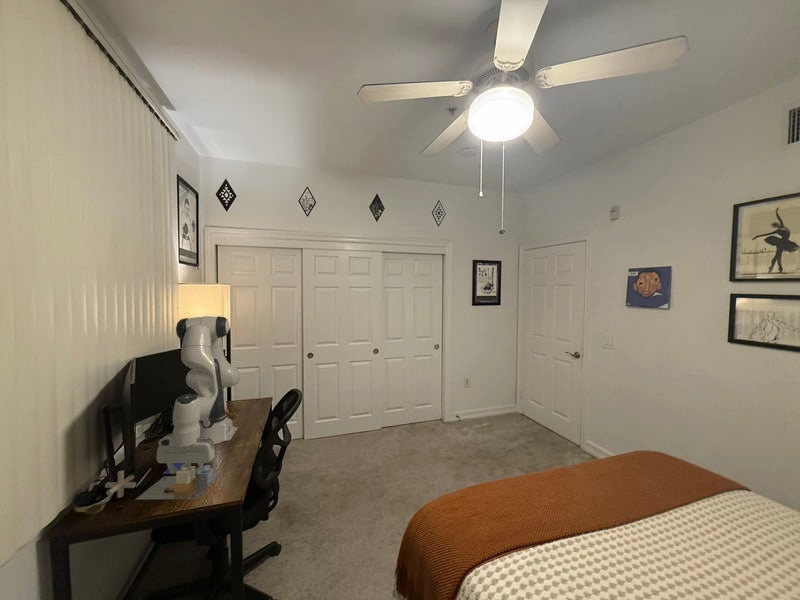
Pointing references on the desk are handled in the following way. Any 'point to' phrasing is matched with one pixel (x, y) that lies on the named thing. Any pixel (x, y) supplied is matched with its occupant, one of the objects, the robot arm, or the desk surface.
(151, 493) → the plate
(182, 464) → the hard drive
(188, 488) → the pigtail stub
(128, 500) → the desk surface
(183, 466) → the cream knobbed block
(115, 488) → the pipe connector
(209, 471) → the blue-grey knobbed block
